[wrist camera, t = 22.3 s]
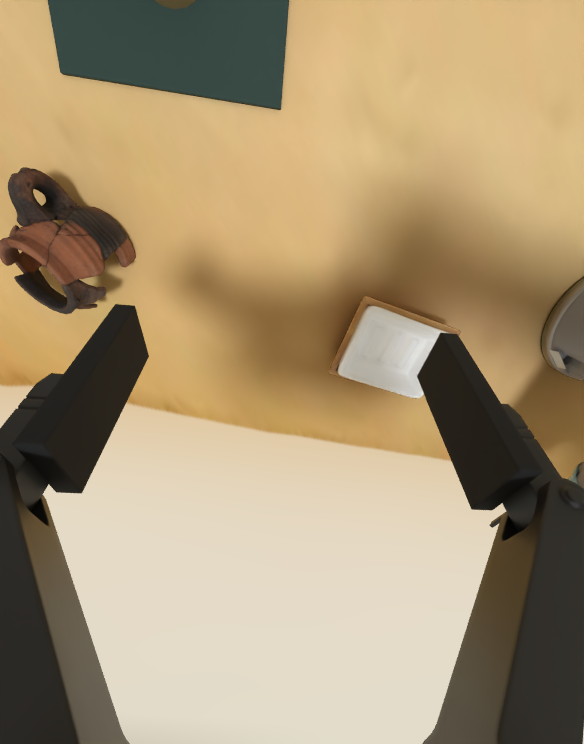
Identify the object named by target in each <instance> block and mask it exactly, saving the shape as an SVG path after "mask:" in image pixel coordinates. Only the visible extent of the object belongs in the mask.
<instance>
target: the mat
mask: <svg viewBox="0 0 584 744" xmlns="http://www.w3.org/2000/svg"><path fill="white" fill-rule="evenodd" d="M48 4H49V10H50V15H51V21H52V27H53V32H54V38H55V44H56V49H57V55H58V61H59V67H60V72H61V73H62V74H64V75H70V76H76V77H82V78H88V79H95V80H101V81H107V82H113V83H119V84H125V85H131V86H137V87H144V88H150V89H156V90H162V91H168V92H174V93H180V94H186V95H193V96H199V97H205V98H211V99H217V100H223V101H229V102H235V103H242V104H248V105H254V106H260V107H266V108H272V109H278V110H281V99H282V86H283V73H284V59H285V46H286V33H287V19H288V6H289V0H196V1H195V2H193V3H192V4H191V5H189V6H188V7H185V8H179V9H172V8H168V7H164V6H162V5H160V4H159V3H157V2H156V1H154V0H48Z"/></svg>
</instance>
